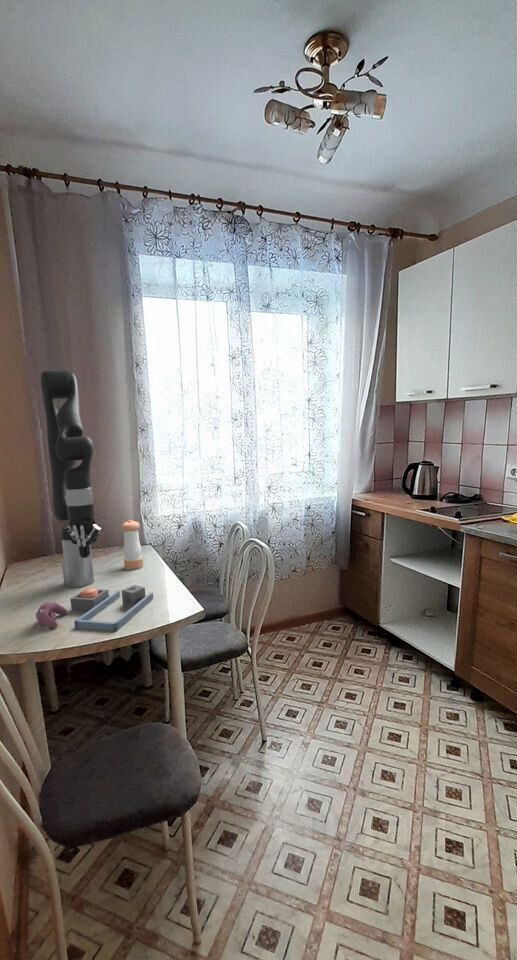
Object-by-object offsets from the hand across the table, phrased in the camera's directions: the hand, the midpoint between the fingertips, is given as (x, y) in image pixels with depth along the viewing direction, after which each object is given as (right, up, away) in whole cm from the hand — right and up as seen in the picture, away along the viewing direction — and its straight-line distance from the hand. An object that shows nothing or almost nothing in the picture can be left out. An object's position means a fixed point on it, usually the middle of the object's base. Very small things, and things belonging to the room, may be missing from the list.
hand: (85, 557), depth 134 cm
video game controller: (-6, -18, -8) cm, 21 cm away
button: (+1, -14, +2) cm, 14 cm away
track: (+11, -16, -3) cm, 20 cm away
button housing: (+1, -16, +2) cm, 16 cm away
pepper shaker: (+4, -11, +39) cm, 41 cm away
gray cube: (+15, -15, +2) cm, 21 cm away
